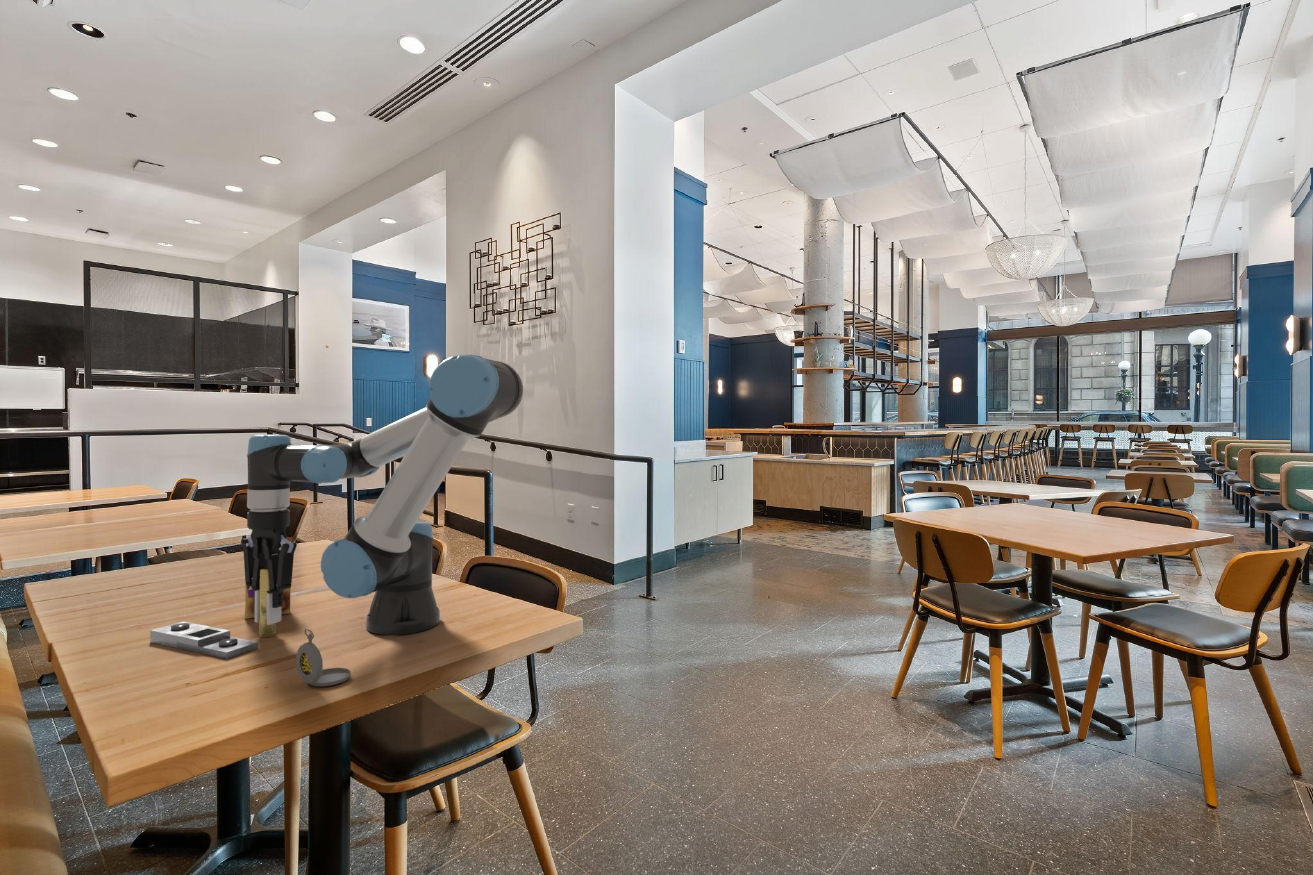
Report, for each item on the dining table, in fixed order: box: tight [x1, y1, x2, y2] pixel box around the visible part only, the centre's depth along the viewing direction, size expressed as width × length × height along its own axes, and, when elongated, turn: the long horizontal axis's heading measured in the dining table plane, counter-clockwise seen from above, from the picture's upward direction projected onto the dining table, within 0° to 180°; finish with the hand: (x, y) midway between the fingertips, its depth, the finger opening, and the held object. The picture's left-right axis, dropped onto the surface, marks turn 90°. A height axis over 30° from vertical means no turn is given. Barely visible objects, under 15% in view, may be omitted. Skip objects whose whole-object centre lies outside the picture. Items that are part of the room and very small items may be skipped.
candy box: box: [244, 554, 292, 620], centre depth 144 cm, size 9×4×15 cm, turn 123°
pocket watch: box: [295, 628, 352, 687], centre depth 108 cm, size 8×8×10 cm
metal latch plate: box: [149, 620, 259, 660], centre depth 124 cm, size 22×6×3 cm, turn 69°
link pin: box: [258, 567, 277, 639], centre depth 130 cm, size 3×3×14 cm
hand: (267, 621), depth 130 cm, fingers closed on link pin, 3 cm apart
